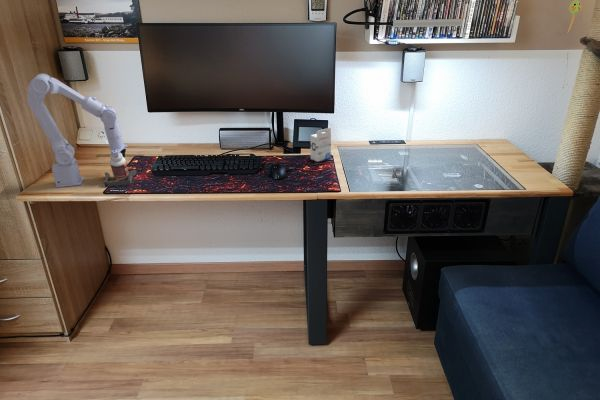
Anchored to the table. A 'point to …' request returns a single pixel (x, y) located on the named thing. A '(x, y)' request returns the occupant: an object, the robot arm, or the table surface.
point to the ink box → (321, 145)
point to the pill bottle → (119, 167)
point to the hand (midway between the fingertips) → (122, 166)
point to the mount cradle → (118, 182)
